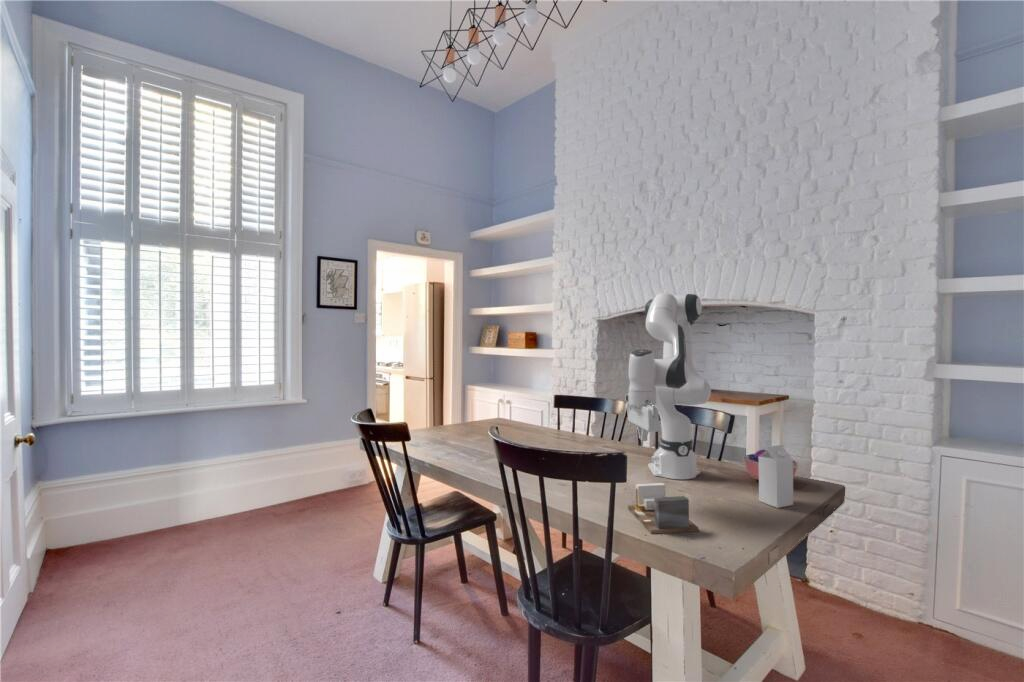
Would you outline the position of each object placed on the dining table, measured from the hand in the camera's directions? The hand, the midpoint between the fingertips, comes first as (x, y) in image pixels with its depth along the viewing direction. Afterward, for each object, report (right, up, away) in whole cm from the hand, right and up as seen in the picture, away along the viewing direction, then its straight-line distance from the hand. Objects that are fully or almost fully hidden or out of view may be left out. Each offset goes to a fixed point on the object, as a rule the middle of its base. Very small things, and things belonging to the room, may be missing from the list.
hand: (643, 440), depth 161 cm
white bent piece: (+1, -20, -9) cm, 22 cm away
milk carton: (+43, -20, -3) cm, 48 cm away
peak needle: (-4, -20, -10) cm, 22 cm away
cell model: (+53, -20, +19) cm, 60 cm away
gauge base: (+2, -21, -14) cm, 25 cm away
